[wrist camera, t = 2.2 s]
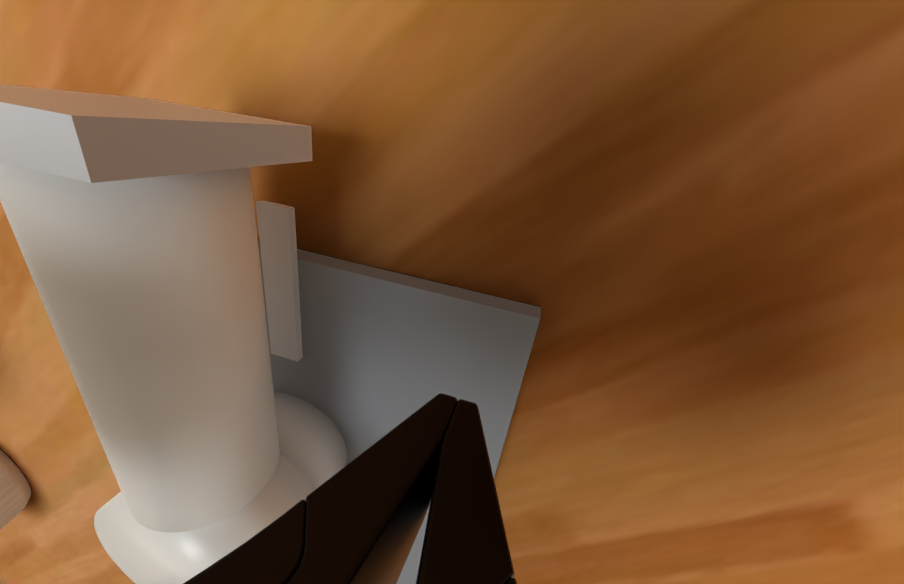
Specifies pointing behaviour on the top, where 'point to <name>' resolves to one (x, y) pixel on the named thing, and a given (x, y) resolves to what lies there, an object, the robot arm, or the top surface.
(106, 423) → the elbow
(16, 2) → the top surface
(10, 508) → the ramekin
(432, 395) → the grey square panel
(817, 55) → the top surface
